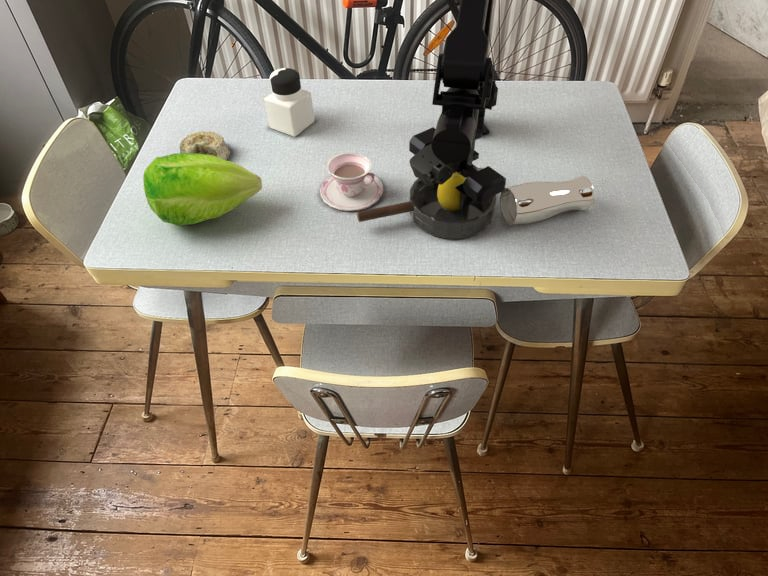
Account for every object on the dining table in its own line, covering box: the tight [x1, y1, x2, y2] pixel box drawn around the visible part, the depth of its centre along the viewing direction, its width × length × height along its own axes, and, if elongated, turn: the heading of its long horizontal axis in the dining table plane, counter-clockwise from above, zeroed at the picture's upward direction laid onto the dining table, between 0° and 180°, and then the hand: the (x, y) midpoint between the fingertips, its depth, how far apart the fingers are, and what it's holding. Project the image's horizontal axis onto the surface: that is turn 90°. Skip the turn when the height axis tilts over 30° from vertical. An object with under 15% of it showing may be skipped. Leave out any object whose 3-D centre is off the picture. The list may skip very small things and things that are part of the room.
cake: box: [179, 130, 231, 160], centre depth 116 cm, size 10×10×5 cm
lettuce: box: [142, 152, 263, 226], centre depth 101 cm, size 14×20×12 cm
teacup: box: [319, 152, 384, 212], centre depth 107 cm, size 12×12×6 cm
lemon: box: [437, 173, 465, 211], centre depth 101 cm, size 6×6×8 cm
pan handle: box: [356, 200, 414, 223], centre depth 100 cm, size 2×10×2 cm, turn 106°
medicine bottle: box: [263, 67, 315, 138], centre depth 120 cm, size 7×7×12 cm
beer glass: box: [499, 175, 595, 226], centre depth 101 cm, size 7×7×15 cm
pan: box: [409, 173, 498, 240], centre depth 103 cm, size 15×15×4 cm
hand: (452, 201), depth 103 cm, fingers closed on lemon, 5 cm apart
